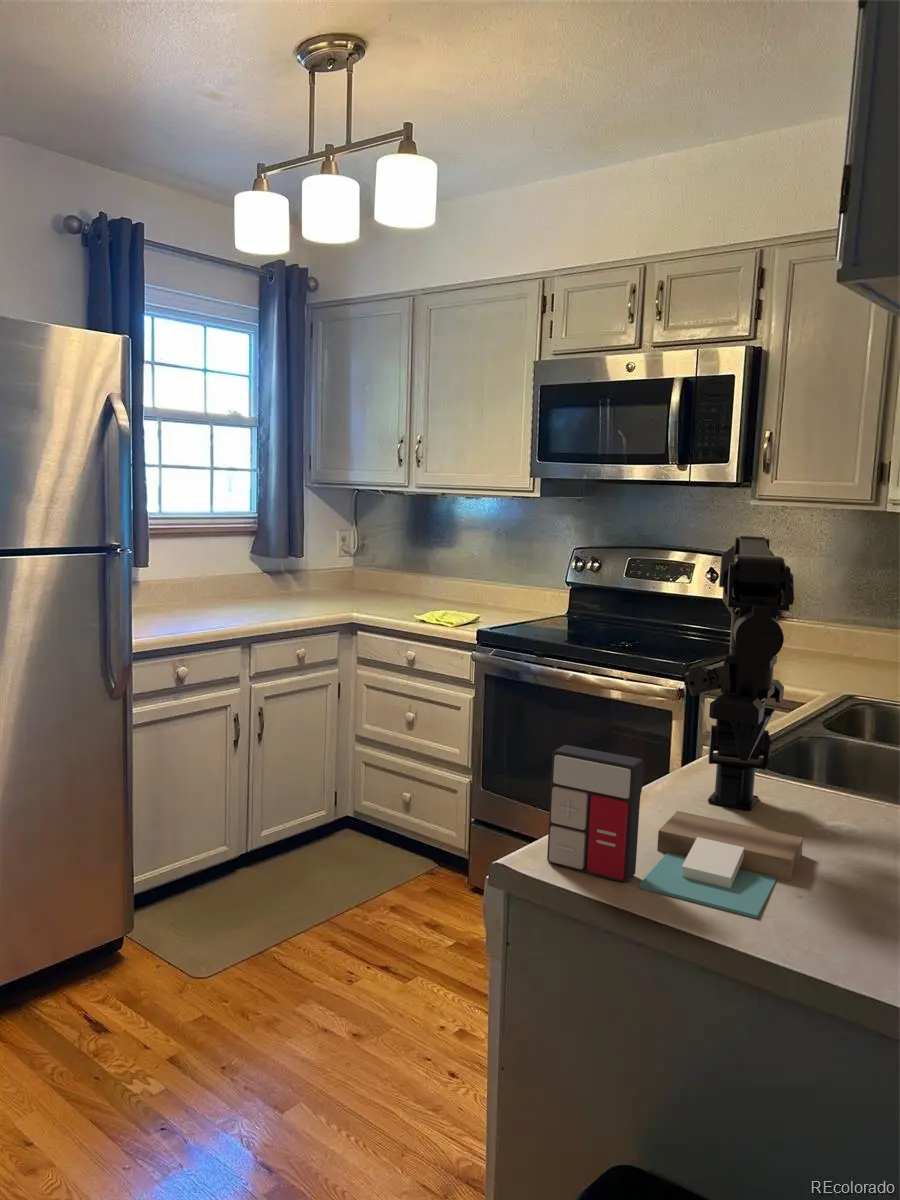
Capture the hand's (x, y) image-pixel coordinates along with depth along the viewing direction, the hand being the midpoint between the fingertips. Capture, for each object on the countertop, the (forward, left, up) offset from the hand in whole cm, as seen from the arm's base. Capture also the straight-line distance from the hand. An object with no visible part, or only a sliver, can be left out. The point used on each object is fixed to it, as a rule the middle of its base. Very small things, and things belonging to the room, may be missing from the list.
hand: (743, 759), depth 123 cm
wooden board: (+5, 0, -12) cm, 13 cm away
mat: (+16, 0, -12) cm, 20 cm away
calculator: (+20, -14, -12) cm, 27 cm away
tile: (+13, 0, -10) cm, 16 cm away
